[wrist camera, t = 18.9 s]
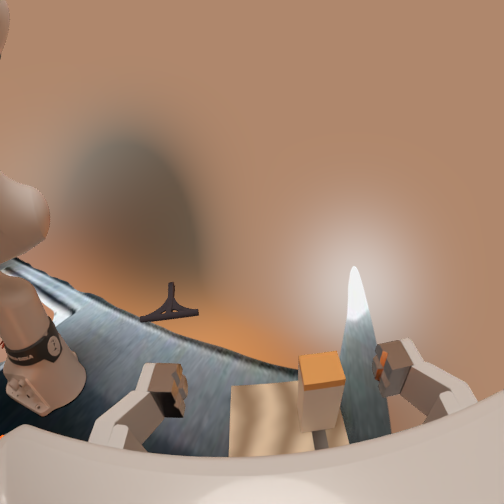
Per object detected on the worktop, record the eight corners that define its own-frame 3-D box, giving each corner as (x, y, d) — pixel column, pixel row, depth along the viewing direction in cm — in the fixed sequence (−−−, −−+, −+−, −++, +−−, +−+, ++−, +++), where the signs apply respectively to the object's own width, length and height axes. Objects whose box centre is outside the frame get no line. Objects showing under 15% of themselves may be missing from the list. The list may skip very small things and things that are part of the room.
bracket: (198, 285, 81) (196, 276, 80) (199, 316, 68) (196, 307, 67) (148, 292, 80) (146, 284, 79) (141, 324, 67) (138, 315, 65)
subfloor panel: (229, 471, 33) (228, 468, 32) (232, 390, 47) (231, 385, 46) (350, 458, 32) (352, 455, 32) (330, 380, 47) (331, 375, 46)
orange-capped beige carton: (301, 432, 37) (304, 385, 31) (297, 405, 41) (298, 354, 36) (334, 427, 36) (345, 378, 31) (328, 401, 41) (336, 349, 36)
